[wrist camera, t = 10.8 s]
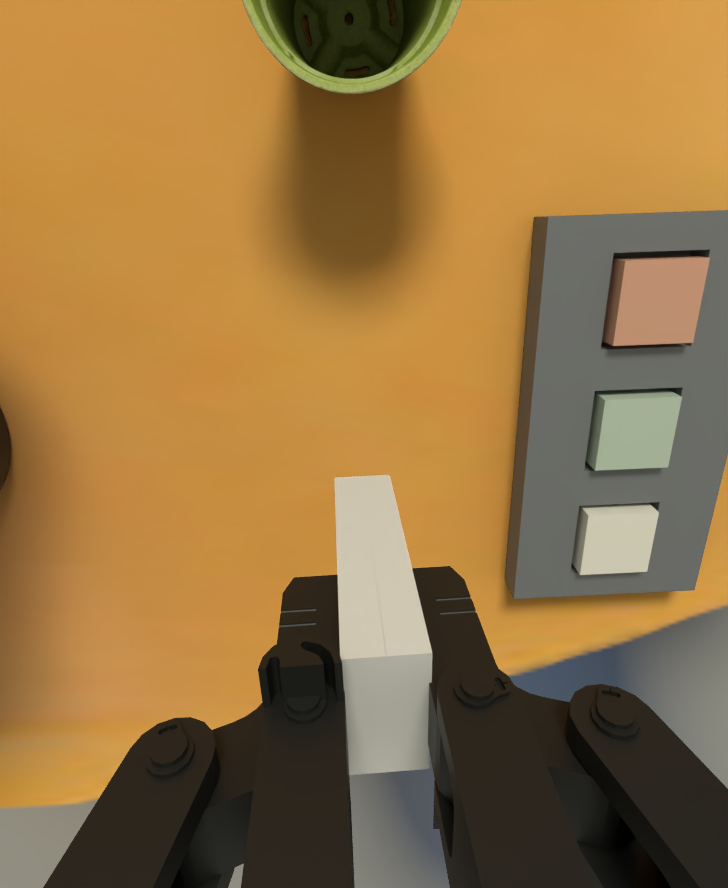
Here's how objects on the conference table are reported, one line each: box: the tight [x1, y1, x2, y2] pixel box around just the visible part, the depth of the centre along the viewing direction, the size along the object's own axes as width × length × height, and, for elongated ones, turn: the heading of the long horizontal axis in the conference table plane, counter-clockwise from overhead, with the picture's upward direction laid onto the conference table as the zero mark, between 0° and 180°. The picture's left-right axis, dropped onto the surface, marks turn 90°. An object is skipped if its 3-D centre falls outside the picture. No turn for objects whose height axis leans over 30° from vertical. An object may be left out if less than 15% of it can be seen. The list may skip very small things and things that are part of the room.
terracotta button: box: [602, 255, 710, 346], centre depth 34 cm, size 5×5×2 cm
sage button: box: [585, 388, 682, 471], centre depth 37 cm, size 5×5×2 cm
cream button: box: [572, 503, 659, 575], centre depth 40 cm, size 5×5×2 cm
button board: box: [505, 210, 728, 599], centre depth 38 cm, size 14×27×2 cm, turn 2°
